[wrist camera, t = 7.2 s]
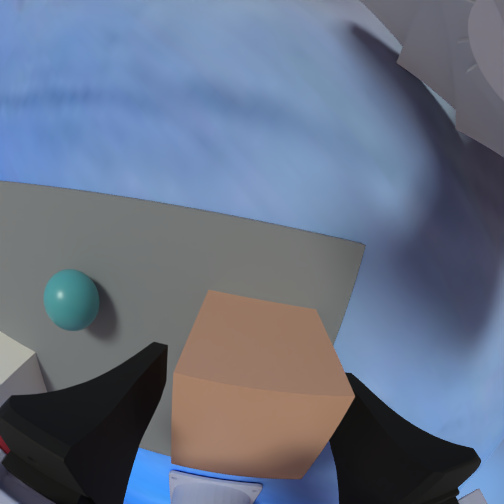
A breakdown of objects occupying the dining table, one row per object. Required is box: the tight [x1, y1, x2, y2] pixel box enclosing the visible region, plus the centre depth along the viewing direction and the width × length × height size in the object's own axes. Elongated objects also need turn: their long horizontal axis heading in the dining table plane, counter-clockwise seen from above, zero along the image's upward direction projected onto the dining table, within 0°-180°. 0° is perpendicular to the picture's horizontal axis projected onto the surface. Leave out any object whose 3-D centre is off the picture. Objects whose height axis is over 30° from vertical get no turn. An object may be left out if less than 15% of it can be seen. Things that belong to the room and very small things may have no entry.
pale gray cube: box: [0, 331, 47, 407], centre depth 11 cm, size 5×5×6 cm
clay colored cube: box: [171, 290, 355, 479], centre depth 10 cm, size 5×5×6 cm
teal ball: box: [44, 269, 100, 331], centre depth 11 cm, size 3×3×3 cm
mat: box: [0, 181, 366, 456], centre depth 13 cm, size 18×25×1 cm
